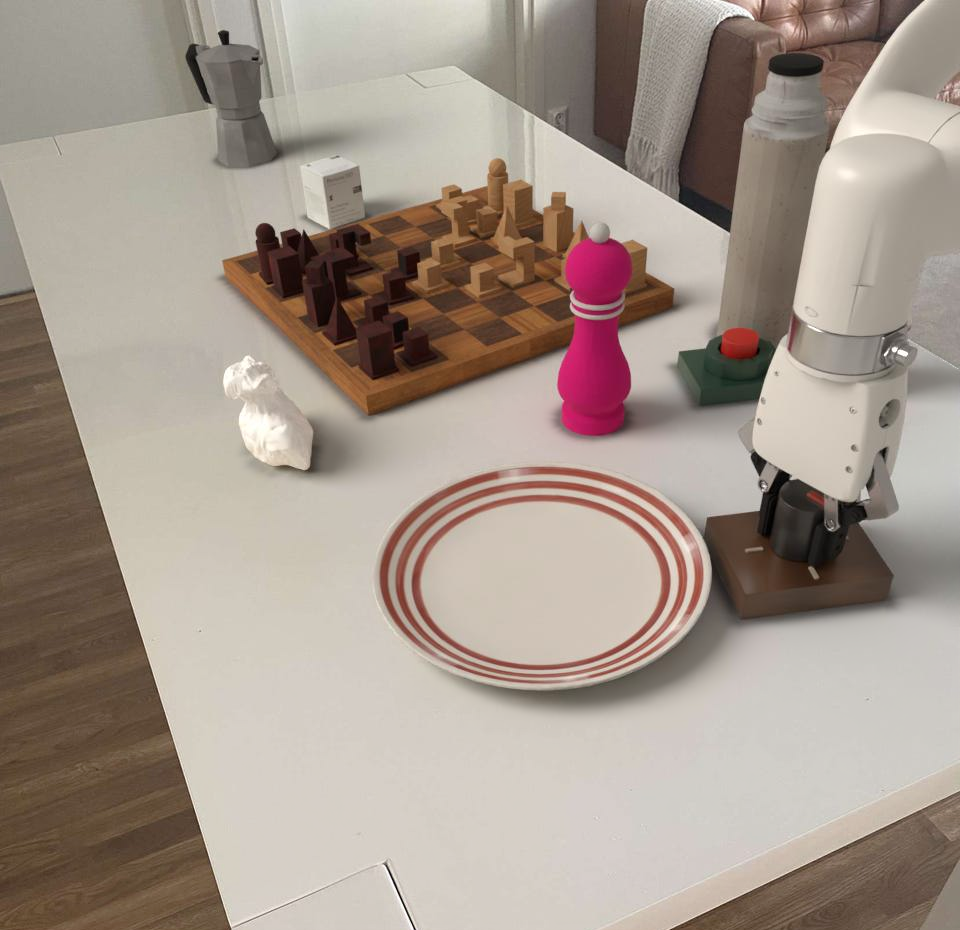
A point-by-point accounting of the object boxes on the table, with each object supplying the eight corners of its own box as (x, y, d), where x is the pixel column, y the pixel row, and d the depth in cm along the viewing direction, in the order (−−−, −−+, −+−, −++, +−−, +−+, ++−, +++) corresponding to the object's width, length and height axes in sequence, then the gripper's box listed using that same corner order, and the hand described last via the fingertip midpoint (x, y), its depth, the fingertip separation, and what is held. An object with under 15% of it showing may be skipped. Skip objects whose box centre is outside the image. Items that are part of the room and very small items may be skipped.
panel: (836, 527, 88) (843, 498, 86) (885, 603, 81) (894, 573, 79) (702, 544, 87) (706, 515, 85) (740, 623, 80) (745, 593, 78)
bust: (270, 441, 106) (183, 379, 98) (319, 389, 104) (234, 322, 96) (295, 504, 97) (203, 443, 90) (349, 450, 96) (259, 382, 88)
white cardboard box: (330, 232, 138) (322, 176, 133) (307, 219, 142) (298, 164, 137) (366, 219, 141) (360, 164, 136) (343, 207, 144) (335, 153, 139)
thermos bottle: (740, 314, 116) (780, 41, 97) (803, 334, 112) (857, 53, 93) (702, 342, 112) (736, 62, 92) (766, 363, 108) (815, 76, 89)
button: (749, 341, 104) (752, 325, 103) (761, 358, 102) (764, 342, 101) (716, 345, 104) (718, 329, 103) (727, 362, 102) (729, 346, 100)
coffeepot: (299, 155, 160) (278, 26, 147) (259, 175, 155) (234, 43, 142) (227, 141, 166) (201, 16, 154) (187, 160, 161) (156, 32, 148)
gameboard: (672, 309, 118) (679, 231, 111) (368, 418, 104) (357, 336, 97) (490, 203, 143) (488, 135, 136) (226, 280, 129) (209, 207, 122)
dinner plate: (706, 728, 72) (712, 697, 70) (339, 694, 76) (332, 663, 74) (708, 500, 92) (712, 469, 89) (414, 482, 96) (411, 452, 93)
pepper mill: (615, 397, 105) (627, 202, 91) (638, 434, 100) (653, 233, 86) (548, 408, 104) (549, 212, 90) (567, 446, 99) (571, 245, 85)
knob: (757, 542, 82) (768, 489, 78) (793, 521, 84) (805, 468, 80) (800, 569, 80) (813, 516, 76) (836, 546, 81) (850, 493, 78)
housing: (766, 359, 109) (772, 325, 106) (793, 397, 103) (800, 362, 100) (676, 369, 108) (680, 335, 105) (698, 409, 102) (703, 373, 100)
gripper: (987, 364, 66) (915, 576, 78) (784, 278, 75) (749, 479, 88) (916, 404, 62) (853, 618, 75) (714, 310, 72) (688, 513, 85)
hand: (797, 541), depth 82 cm, fingers closed on knob, 4 cm apart
